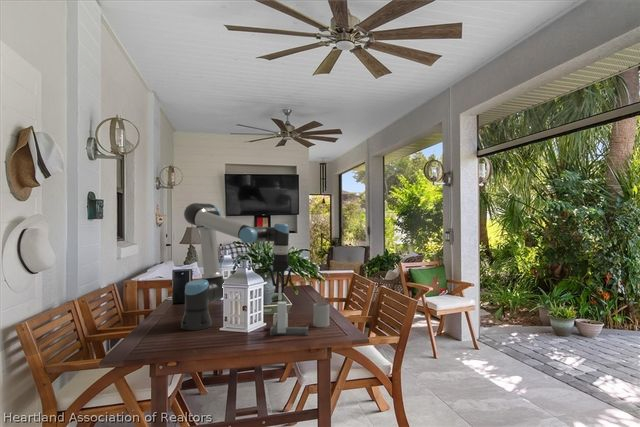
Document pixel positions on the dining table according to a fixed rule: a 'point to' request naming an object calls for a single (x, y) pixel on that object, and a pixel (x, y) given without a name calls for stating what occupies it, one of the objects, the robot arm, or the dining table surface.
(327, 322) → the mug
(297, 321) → the dining table surface
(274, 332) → the rail
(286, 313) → the gauge cabinet
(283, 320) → the block
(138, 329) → the dining table surface
